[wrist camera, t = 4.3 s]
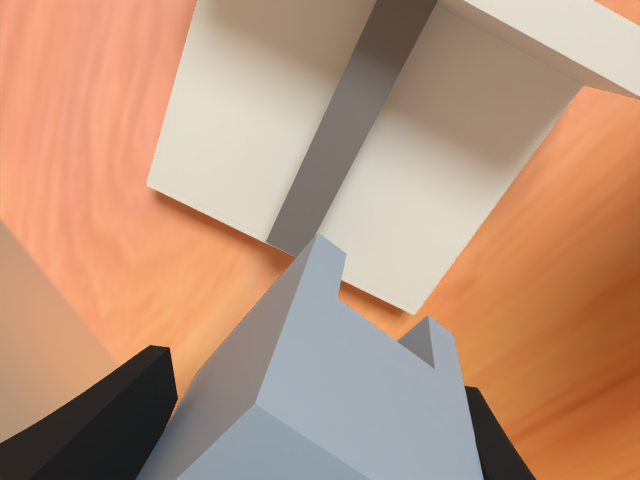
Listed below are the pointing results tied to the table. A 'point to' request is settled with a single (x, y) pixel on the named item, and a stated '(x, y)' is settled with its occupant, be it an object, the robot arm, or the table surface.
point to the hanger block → (321, 394)
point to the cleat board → (377, 120)
